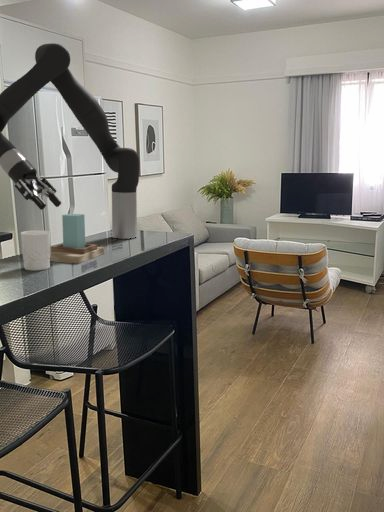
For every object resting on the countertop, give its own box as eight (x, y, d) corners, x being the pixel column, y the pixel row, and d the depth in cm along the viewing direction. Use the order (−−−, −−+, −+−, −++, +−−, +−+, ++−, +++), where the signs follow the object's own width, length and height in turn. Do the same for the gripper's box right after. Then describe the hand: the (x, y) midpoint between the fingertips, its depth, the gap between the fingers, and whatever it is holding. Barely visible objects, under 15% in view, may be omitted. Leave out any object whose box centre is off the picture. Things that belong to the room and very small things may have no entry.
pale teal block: (70, 248, 159) (69, 213, 157) (85, 249, 157) (84, 214, 155) (63, 251, 155) (62, 215, 153) (78, 252, 153) (77, 216, 151)
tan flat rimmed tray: (70, 250, 166) (70, 240, 165) (104, 253, 162) (104, 242, 162) (43, 260, 151) (42, 248, 150) (79, 263, 147) (78, 251, 147)
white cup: (20, 271, 137) (18, 234, 135) (24, 265, 144) (22, 230, 142) (50, 270, 138) (49, 234, 136) (52, 264, 146) (51, 230, 144)
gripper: (10, 159, 148) (46, 200, 147) (38, 158, 162) (71, 196, 161) (-5, 176, 151) (31, 217, 150) (24, 175, 164) (57, 212, 163)
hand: (51, 206), depth 155 cm, fingers open, 8 cm apart
